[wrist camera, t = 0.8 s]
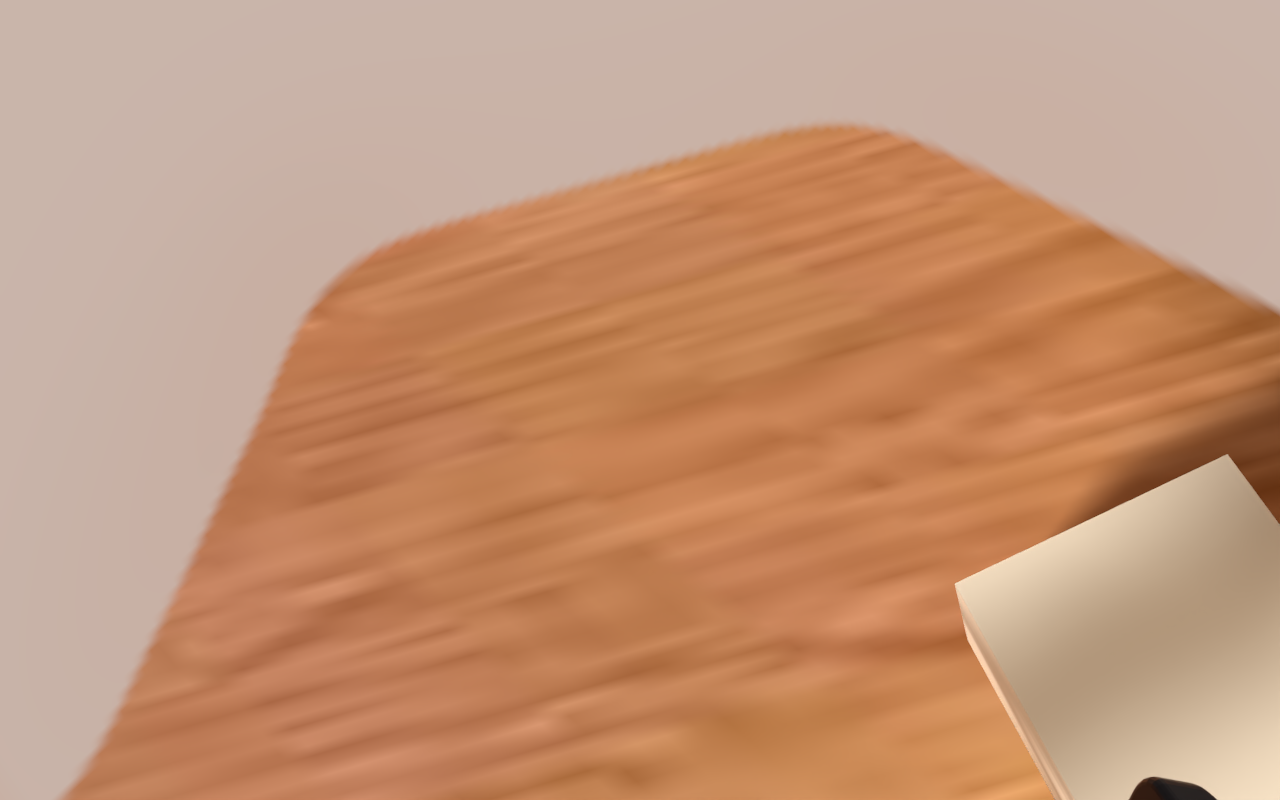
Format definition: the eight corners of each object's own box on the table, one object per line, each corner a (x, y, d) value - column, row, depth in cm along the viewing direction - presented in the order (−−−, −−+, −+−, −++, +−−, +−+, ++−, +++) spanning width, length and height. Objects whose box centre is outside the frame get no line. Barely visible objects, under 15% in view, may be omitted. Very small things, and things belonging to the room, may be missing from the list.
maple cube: (1349, 770, 20) (1436, 737, 16) (1098, 880, 21) (1117, 876, 17) (1189, 537, 23) (1227, 454, 18) (967, 641, 23) (954, 583, 19)
